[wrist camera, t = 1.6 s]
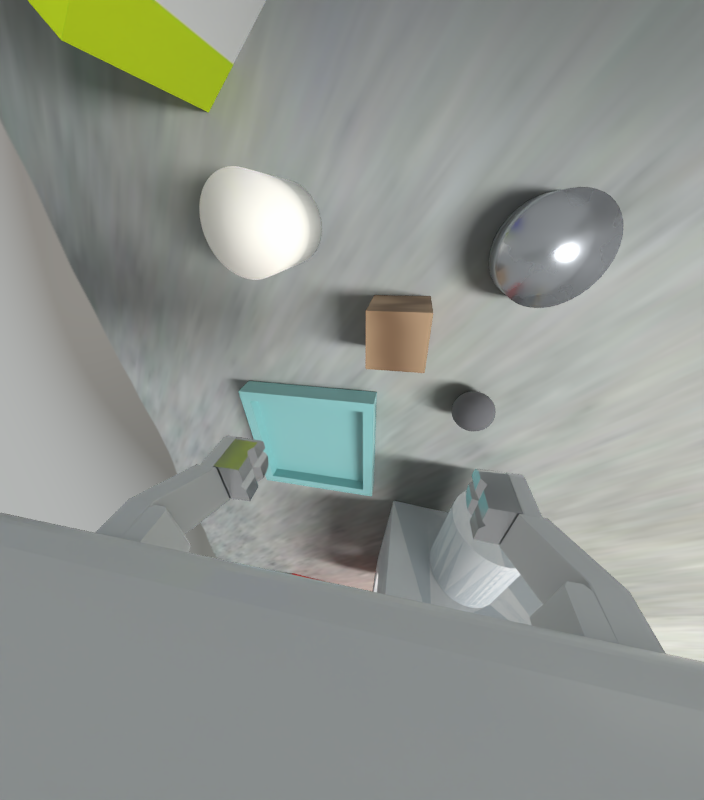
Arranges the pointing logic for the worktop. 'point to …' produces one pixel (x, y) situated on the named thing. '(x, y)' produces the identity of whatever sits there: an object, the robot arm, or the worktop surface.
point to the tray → (314, 434)
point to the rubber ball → (473, 411)
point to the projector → (449, 564)
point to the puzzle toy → (159, 39)
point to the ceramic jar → (258, 222)
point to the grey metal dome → (556, 246)
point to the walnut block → (398, 332)
